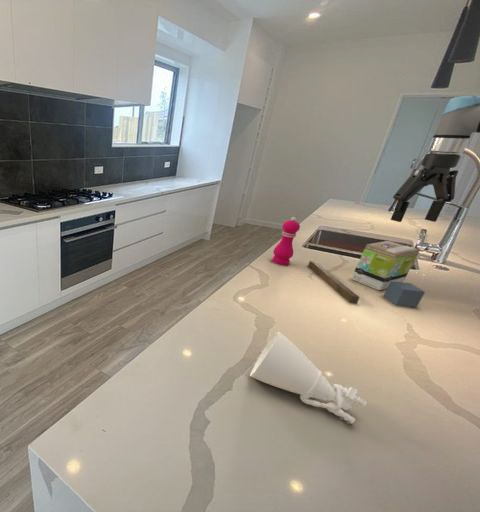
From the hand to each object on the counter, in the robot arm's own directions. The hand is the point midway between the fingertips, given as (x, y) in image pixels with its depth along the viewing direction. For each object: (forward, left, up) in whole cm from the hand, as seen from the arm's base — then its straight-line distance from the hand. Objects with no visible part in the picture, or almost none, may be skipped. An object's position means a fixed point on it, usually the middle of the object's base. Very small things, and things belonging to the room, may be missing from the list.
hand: (413, 220), depth 99 cm
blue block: (-10, +1, -26) cm, 27 cm away
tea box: (+5, -1, -26) cm, 26 cm away
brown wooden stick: (0, +17, -26) cm, 31 cm away
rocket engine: (-61, +53, -26) cm, 85 cm away
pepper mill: (+16, +29, -26) cm, 42 cm away
